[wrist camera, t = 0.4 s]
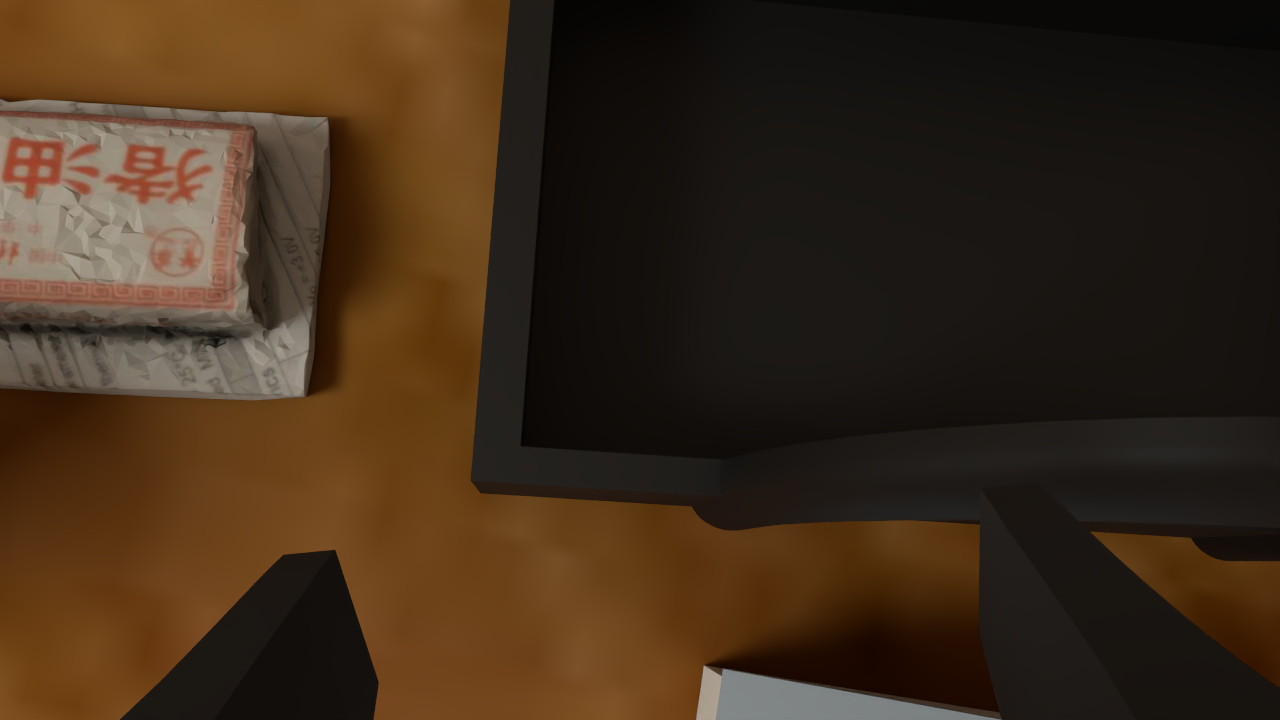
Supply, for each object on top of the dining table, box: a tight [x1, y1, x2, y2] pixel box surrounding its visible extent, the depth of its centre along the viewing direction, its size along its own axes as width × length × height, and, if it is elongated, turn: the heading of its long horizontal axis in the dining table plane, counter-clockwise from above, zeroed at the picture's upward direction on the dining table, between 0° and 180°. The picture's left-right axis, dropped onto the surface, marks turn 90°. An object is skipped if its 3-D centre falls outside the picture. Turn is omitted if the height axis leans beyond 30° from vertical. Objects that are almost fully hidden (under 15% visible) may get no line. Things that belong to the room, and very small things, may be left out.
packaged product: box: [0, 99, 330, 400], centre depth 38 cm, size 18×5×10 cm
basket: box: [471, 0, 1280, 561], centre depth 26 cm, size 35×21×35 cm, turn 87°
